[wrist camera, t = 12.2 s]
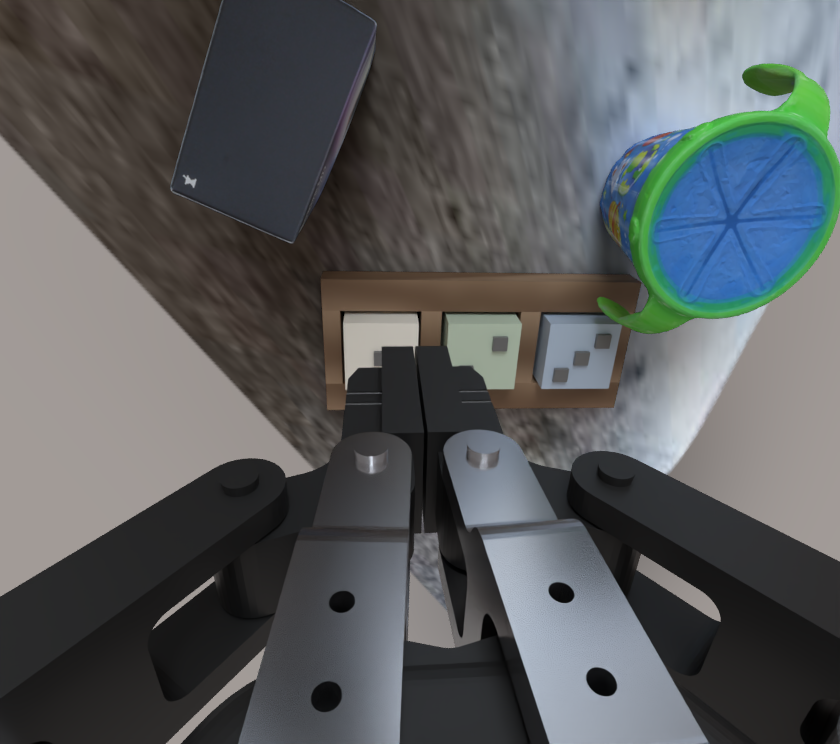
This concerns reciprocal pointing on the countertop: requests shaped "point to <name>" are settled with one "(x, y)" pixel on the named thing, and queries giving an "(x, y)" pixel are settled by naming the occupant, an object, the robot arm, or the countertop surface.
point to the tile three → (575, 350)
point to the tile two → (484, 344)
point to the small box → (273, 109)
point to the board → (477, 295)
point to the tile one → (375, 336)
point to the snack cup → (726, 206)
